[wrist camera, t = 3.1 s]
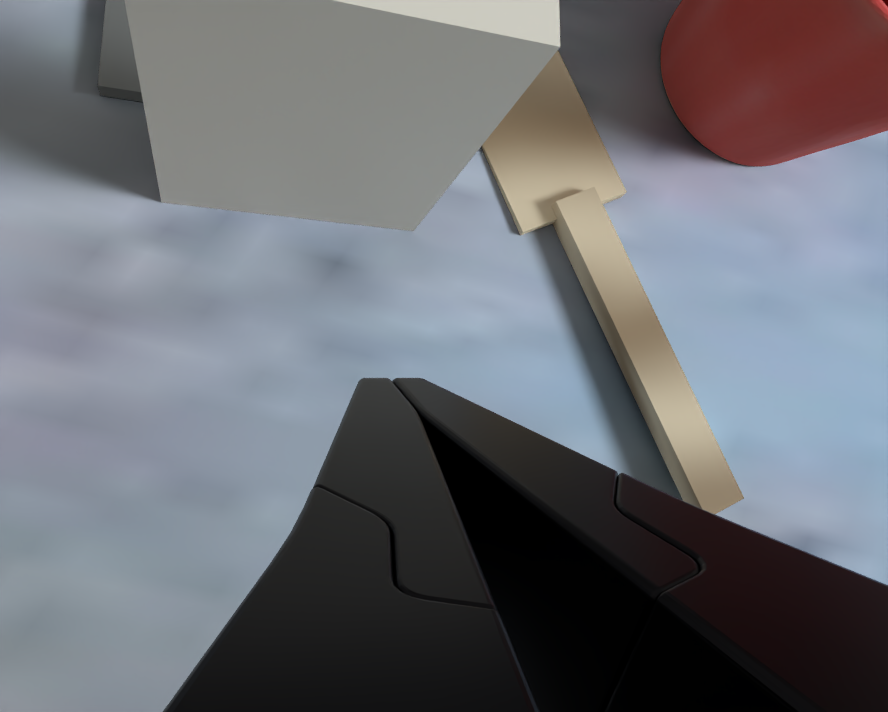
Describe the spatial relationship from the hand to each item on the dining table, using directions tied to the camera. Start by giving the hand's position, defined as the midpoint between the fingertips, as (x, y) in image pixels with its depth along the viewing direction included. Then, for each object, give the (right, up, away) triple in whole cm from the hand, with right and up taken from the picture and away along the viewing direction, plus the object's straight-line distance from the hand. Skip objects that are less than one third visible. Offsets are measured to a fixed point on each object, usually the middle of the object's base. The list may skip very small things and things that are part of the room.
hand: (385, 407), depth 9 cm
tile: (-4, +6, +14) cm, 16 cm away
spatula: (+6, +4, +17) cm, 18 cm away
